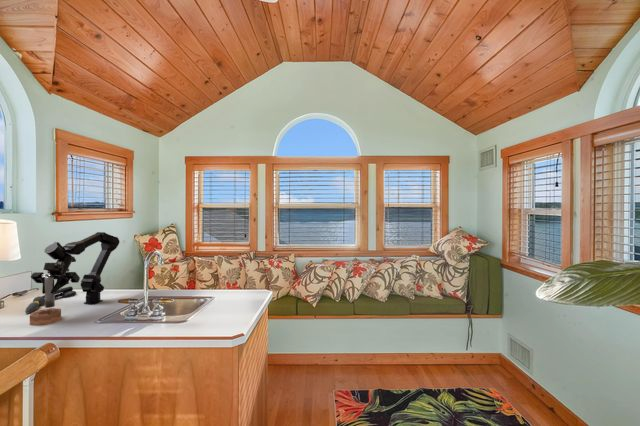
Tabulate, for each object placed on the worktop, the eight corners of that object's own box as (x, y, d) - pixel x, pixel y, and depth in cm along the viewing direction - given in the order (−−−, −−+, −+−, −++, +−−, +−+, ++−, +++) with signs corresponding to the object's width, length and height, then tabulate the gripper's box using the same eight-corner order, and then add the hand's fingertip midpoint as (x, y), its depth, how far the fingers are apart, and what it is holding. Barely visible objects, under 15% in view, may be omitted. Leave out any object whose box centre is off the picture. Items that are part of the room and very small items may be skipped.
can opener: (69, 294, 199) (69, 284, 199) (77, 295, 196) (77, 286, 196) (36, 302, 182) (35, 292, 182) (44, 304, 180) (44, 293, 180)
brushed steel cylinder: (50, 305, 156) (49, 275, 156) (56, 305, 156) (56, 276, 155) (43, 307, 153) (42, 277, 152) (49, 307, 152) (49, 277, 152)
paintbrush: (36, 313, 165) (36, 303, 164) (23, 315, 162) (23, 305, 162) (47, 302, 182) (47, 293, 182) (35, 303, 180) (35, 294, 180)
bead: (47, 315, 161) (47, 307, 161) (66, 317, 160) (66, 309, 160) (23, 324, 151) (23, 315, 150) (44, 325, 149) (44, 317, 149)
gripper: (32, 255, 156) (15, 284, 146) (76, 255, 159) (61, 284, 148) (44, 268, 164) (28, 297, 154) (85, 268, 167) (72, 296, 156)
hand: (47, 293), depth 153 cm, fingers closed on brushed steel cylinder, 3 cm apart
